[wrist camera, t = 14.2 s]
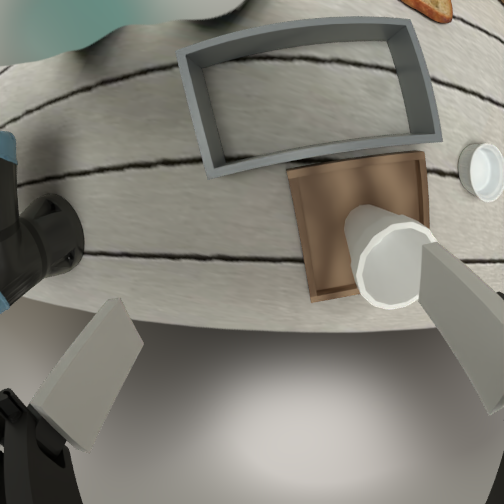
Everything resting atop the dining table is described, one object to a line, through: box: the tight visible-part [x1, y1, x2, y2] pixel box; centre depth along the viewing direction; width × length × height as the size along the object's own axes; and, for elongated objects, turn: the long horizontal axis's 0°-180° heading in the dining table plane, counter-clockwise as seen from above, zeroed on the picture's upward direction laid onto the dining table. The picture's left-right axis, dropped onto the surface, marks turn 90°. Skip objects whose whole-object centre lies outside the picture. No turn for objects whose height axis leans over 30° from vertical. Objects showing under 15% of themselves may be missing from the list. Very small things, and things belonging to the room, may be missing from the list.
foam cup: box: [344, 204, 437, 310], centre depth 30 cm, size 10×9×13 cm
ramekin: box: [458, 143, 504, 202], centre depth 29 cm, size 9×9×4 cm
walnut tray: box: [286, 150, 430, 303], centre depth 35 cm, size 19×19×2 cm
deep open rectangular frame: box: [175, 16, 443, 180], centre depth 27 cm, size 28×16×7 cm, turn 104°
